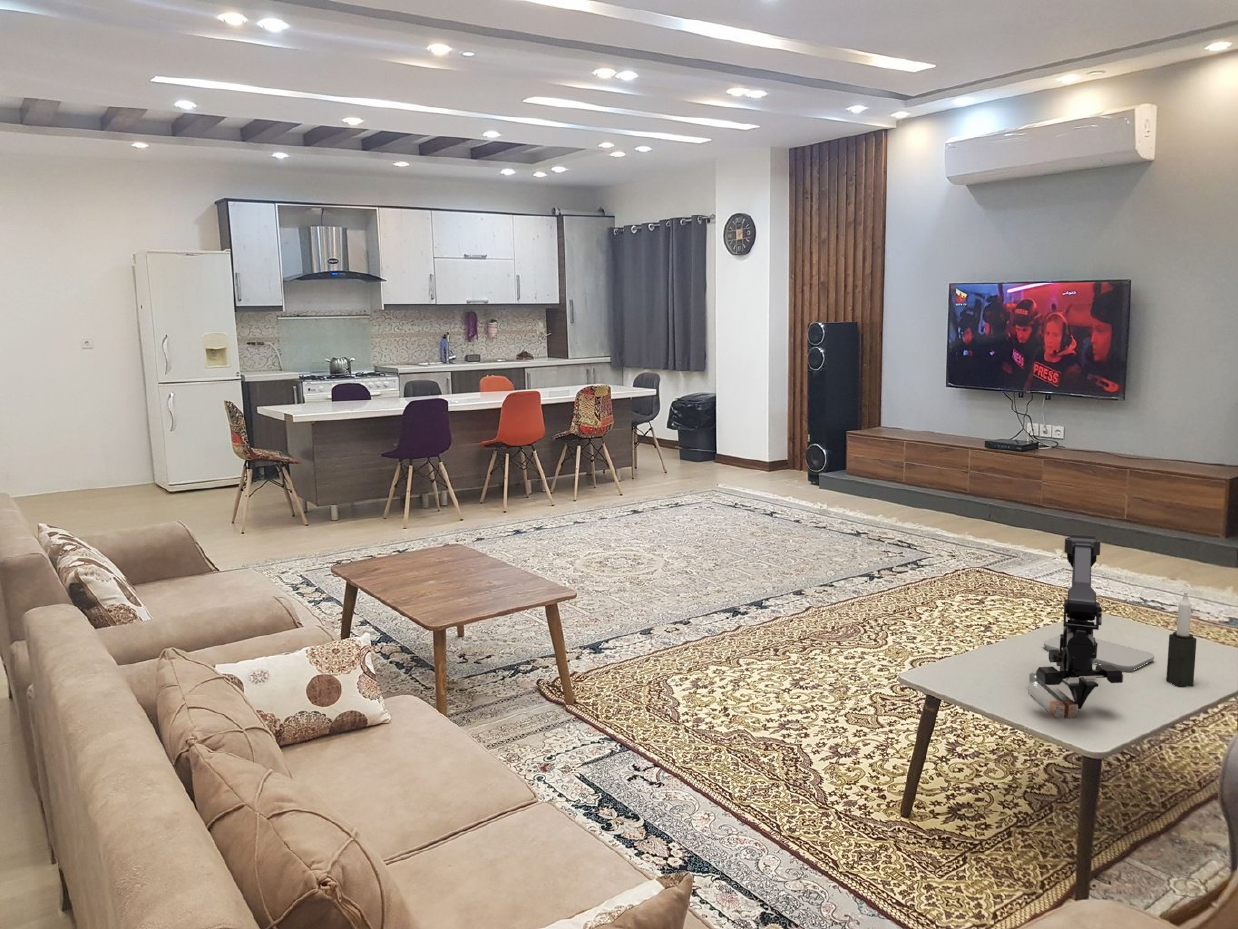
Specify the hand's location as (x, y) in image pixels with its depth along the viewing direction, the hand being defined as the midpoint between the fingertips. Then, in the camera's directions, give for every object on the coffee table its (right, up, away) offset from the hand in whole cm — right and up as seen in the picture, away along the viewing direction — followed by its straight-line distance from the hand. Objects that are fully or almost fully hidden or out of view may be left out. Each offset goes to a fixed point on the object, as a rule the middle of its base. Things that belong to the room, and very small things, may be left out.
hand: (1078, 708), depth 232 cm
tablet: (+25, +4, +40) cm, 47 cm away
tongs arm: (-2, 0, +6) cm, 6 cm away
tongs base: (-4, 0, +8) cm, 9 cm away
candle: (+36, +2, +18) cm, 40 cm away
